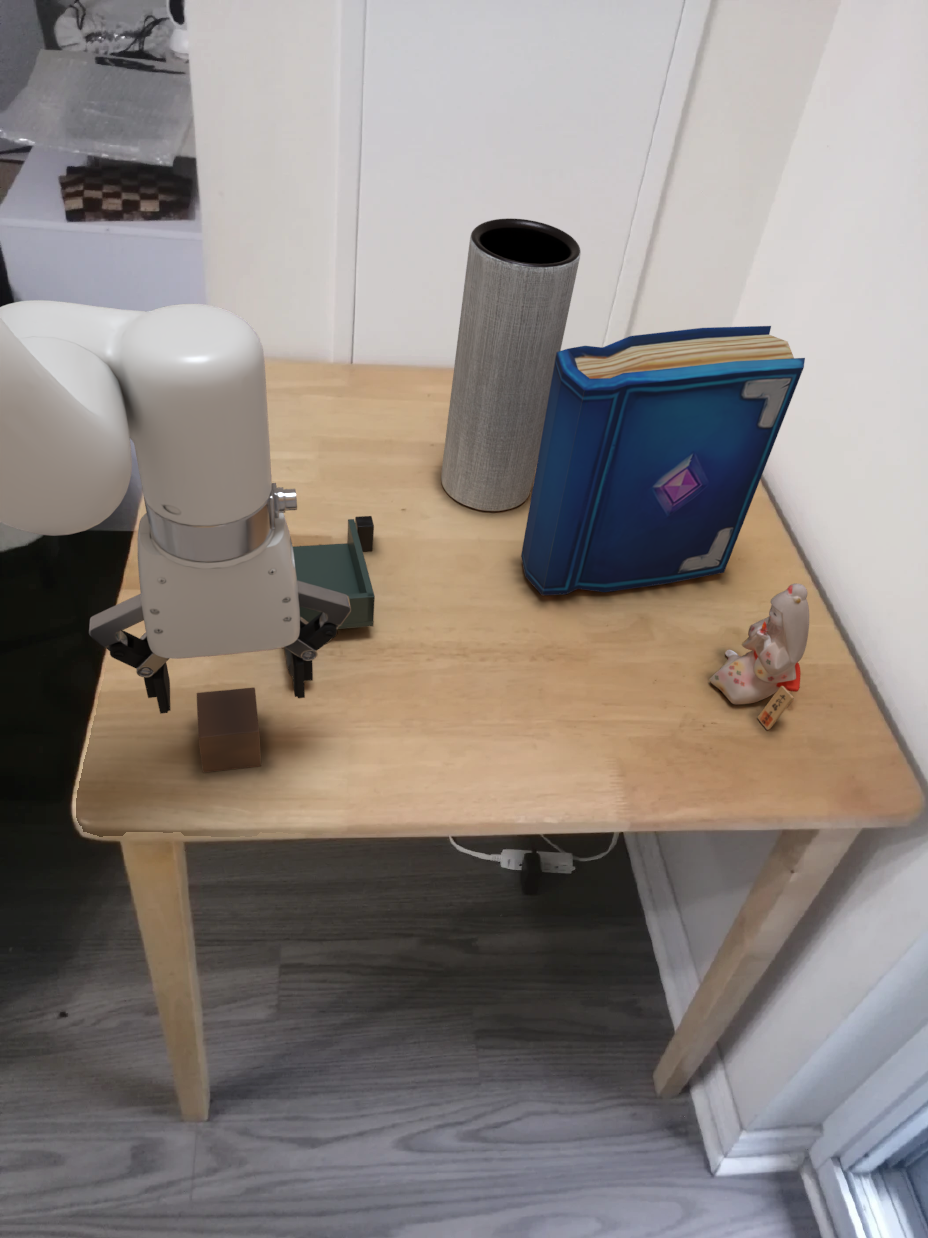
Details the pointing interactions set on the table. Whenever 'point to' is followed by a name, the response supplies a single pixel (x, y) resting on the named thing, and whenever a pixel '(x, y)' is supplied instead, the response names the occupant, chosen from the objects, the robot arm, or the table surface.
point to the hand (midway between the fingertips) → (232, 691)
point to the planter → (506, 359)
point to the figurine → (769, 657)
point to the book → (653, 456)
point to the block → (228, 729)
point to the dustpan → (337, 578)
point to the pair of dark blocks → (365, 532)
